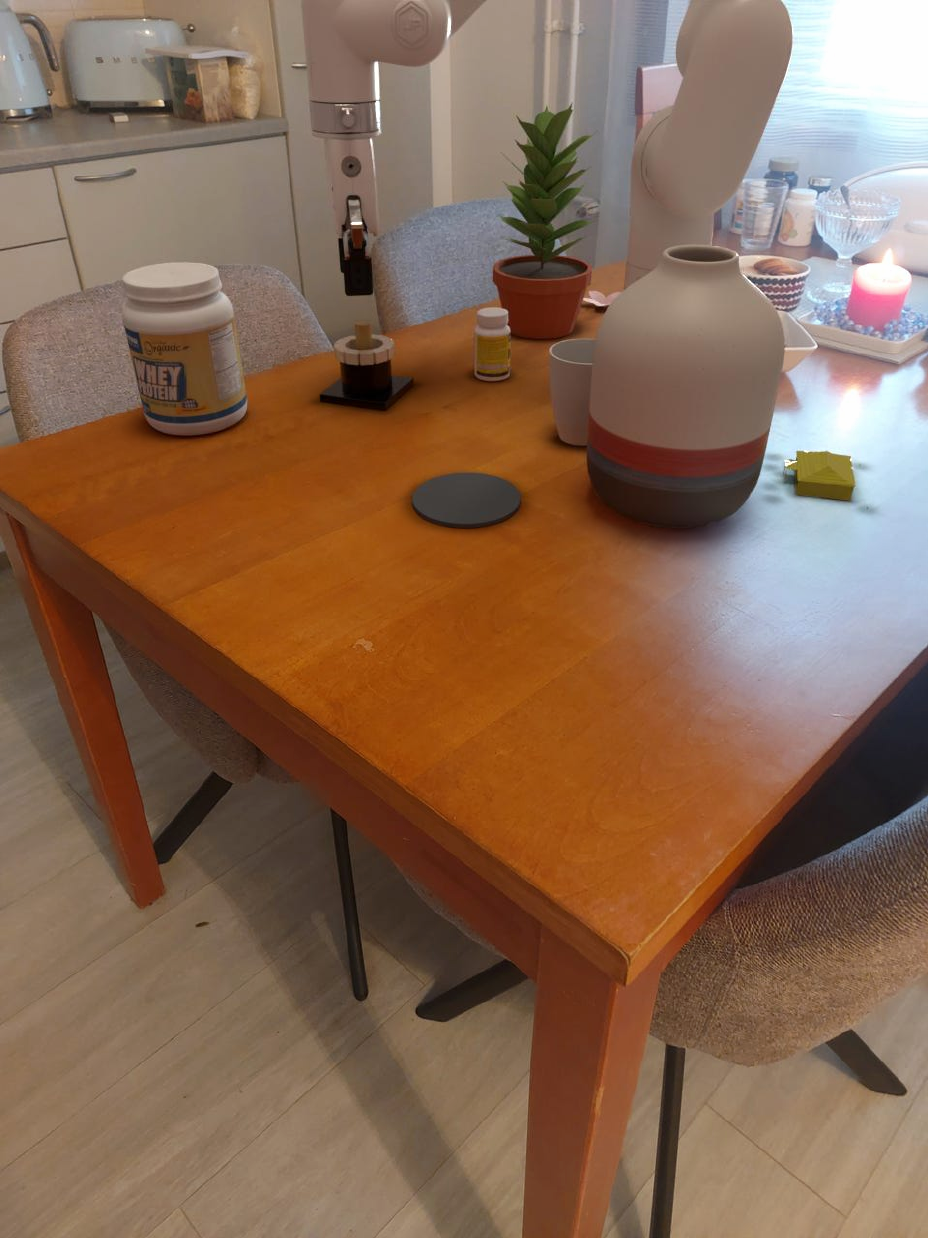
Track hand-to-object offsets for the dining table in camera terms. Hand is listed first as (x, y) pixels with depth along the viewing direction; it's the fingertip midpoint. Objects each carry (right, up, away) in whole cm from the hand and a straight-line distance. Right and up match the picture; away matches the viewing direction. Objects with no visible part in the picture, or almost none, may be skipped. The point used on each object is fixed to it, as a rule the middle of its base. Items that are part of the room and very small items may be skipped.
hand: (356, 283), depth 106 cm
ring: (+1, -7, +5) cm, 9 cm away
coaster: (+13, -28, -16) cm, 35 cm away
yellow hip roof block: (+50, -26, -13) cm, 57 cm away
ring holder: (+1, -11, +8) cm, 14 cm away
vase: (+33, -28, -16) cm, 46 cm away
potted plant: (+24, +4, +29) cm, 37 cm away
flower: (+35, +10, +37) cm, 52 cm away
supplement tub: (-19, -16, +2) cm, 25 cm away
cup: (+26, -19, -3) cm, 33 cm away
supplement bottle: (+17, -8, +13) cm, 22 cm away
